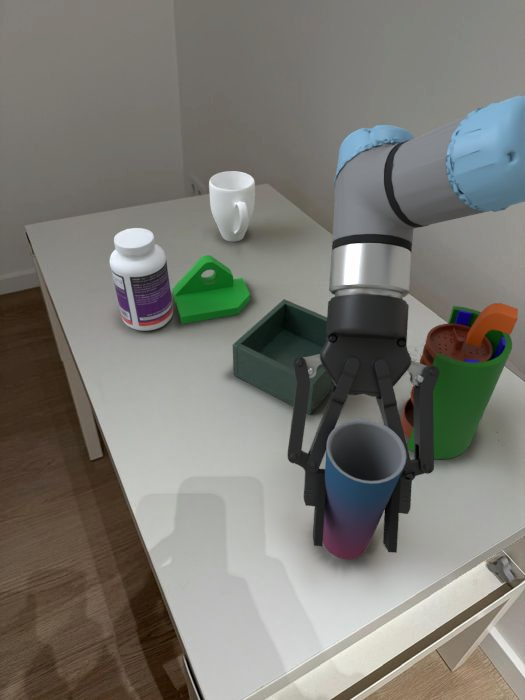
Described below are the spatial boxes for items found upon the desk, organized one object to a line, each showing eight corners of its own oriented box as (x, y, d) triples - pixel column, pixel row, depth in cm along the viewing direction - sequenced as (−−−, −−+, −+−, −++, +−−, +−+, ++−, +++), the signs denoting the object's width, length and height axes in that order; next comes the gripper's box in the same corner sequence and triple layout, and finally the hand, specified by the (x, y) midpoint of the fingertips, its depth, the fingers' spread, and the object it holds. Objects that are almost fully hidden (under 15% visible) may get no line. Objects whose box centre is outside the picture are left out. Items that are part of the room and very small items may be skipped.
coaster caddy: (400, 393, 71) (436, 270, 57) (467, 404, 69) (520, 281, 56) (399, 453, 63) (440, 328, 50) (475, 466, 62) (538, 342, 48)
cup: (365, 503, 57) (390, 414, 47) (387, 562, 52) (419, 477, 42) (306, 512, 56) (317, 423, 46) (322, 573, 51) (339, 489, 41)
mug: (207, 228, 103) (204, 173, 95) (247, 223, 105) (247, 168, 97) (222, 260, 94) (220, 202, 87) (265, 253, 96) (267, 196, 89)
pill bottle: (181, 306, 84) (172, 227, 74) (162, 337, 78) (150, 256, 68) (134, 298, 85) (119, 220, 75) (113, 329, 79) (94, 248, 70)
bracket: (181, 324, 81) (177, 288, 76) (173, 295, 86) (168, 260, 81) (254, 311, 83) (255, 276, 79) (242, 284, 89) (242, 250, 84)
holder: (354, 361, 75) (360, 331, 71) (309, 415, 67) (313, 384, 63) (282, 328, 80) (283, 298, 76) (233, 375, 73) (232, 344, 69)
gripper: (456, 309, 52) (444, 540, 51) (270, 297, 53) (254, 524, 52) (484, 298, 45) (471, 568, 44) (267, 285, 46) (248, 549, 45)
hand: (353, 544), depth 48 cm, fingers closed on cup, 6 cm apart
